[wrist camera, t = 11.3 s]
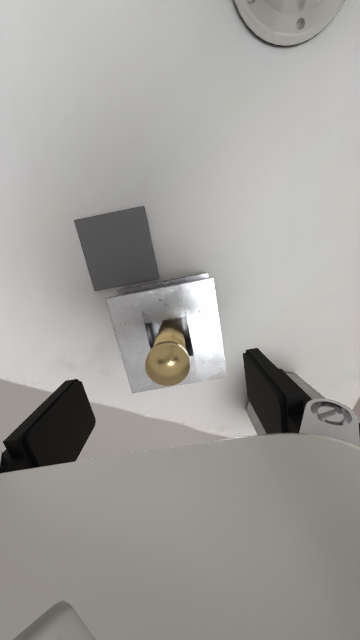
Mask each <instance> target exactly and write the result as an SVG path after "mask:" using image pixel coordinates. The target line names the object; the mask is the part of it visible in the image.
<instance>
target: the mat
mask: <svg viewBox="0 0 360 640" xmlns="http://www.w3.org/2000/svg"><path fill="white" fill-rule="evenodd" d="M74 222H75V225H76V229H77V232H78V235H79V239H80V242H81V246H82V249H83V253H84V256H85V259H86V263H87V266H88V270H89V273H90V276H91V280H92V283H93V287H94V290H95V291H97V290H102V289H107V288H113V287H118V286H123V285H128V284H133V283H138V282H144V281H149V280H154V279H159V276H158V271H157V266H156V261H155V256H154V252H153V247H152V242H151V237H150V232H149V228H148V223H147V218H146V213H145V208H144V206H141V207H136V208H131V209H127V210H122V211H117V212H112V213H107V214H102V215H98V216H93V217H88V218H83V219H78V220H74Z"/></svg>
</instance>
